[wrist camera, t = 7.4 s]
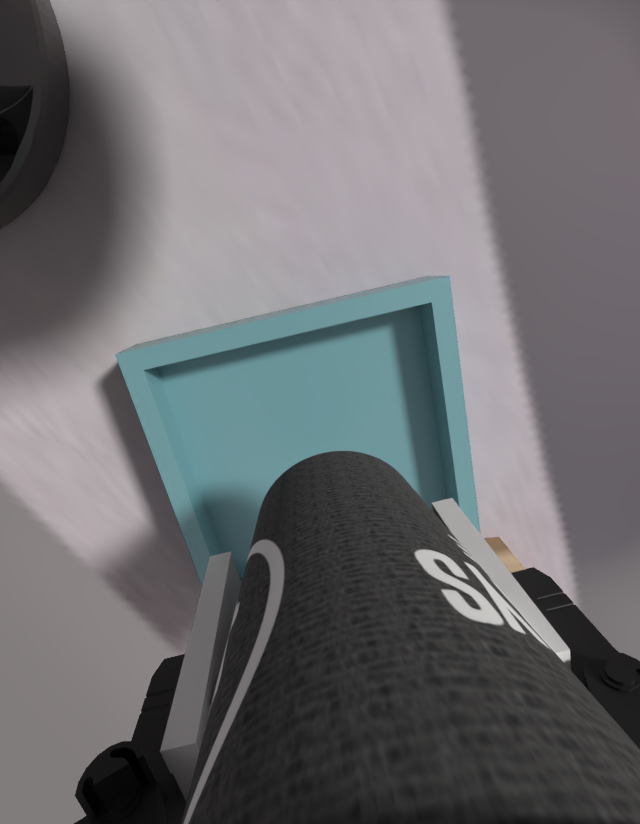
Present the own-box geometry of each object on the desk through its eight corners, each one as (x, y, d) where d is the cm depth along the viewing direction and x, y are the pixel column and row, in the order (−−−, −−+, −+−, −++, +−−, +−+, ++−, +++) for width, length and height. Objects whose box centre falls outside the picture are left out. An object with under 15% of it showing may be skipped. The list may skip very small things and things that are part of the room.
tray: (135, 344, 23) (115, 354, 20) (428, 276, 23) (449, 275, 20) (222, 586, 28) (215, 622, 25) (462, 528, 28) (483, 556, 25)
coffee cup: (378, 648, 20) (644, 1651, 5) (178, 573, 17) (-270, 1898, 3) (498, 475, 17) (1483, 1371, 3) (288, 366, 15) (416, 1564, 1)
